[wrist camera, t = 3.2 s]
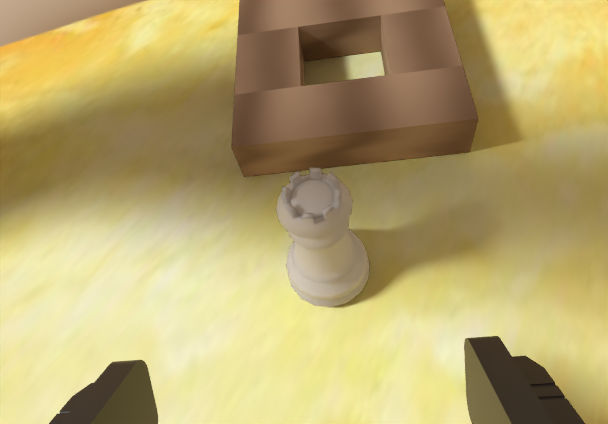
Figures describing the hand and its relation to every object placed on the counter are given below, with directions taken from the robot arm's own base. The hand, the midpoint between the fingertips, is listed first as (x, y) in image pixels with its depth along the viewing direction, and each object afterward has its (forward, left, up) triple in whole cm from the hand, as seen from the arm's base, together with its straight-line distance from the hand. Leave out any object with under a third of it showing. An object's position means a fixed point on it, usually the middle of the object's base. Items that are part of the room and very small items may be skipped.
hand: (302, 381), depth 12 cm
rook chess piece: (0, +8, -12) cm, 15 cm away
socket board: (+2, +22, -12) cm, 25 cm away
